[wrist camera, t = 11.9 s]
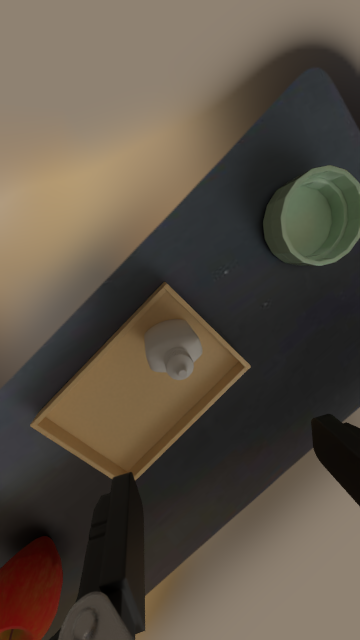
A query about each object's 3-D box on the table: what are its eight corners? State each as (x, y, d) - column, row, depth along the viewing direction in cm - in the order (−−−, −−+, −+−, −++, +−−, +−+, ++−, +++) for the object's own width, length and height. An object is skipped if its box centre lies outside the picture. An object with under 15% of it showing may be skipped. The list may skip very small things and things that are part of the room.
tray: (164, 281, 31) (166, 283, 28) (242, 358, 35) (251, 366, 32) (38, 412, 32) (29, 426, 30) (128, 472, 36) (127, 489, 34)
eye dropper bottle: (184, 352, 33) (209, 402, 21) (141, 346, 32) (143, 395, 20) (192, 320, 32) (222, 354, 20) (148, 312, 31) (153, 343, 19)
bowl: (256, 187, 30) (276, 175, 26) (333, 172, 31) (364, 158, 27) (267, 272, 33) (286, 273, 29) (337, 255, 34) (366, 254, 30)
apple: (-3, 539, 36) (-62, 654, 25) (50, 507, 36) (13, 608, 25) (36, 573, 38) (-3, 692, 27) (85, 543, 38) (65, 649, 28)
